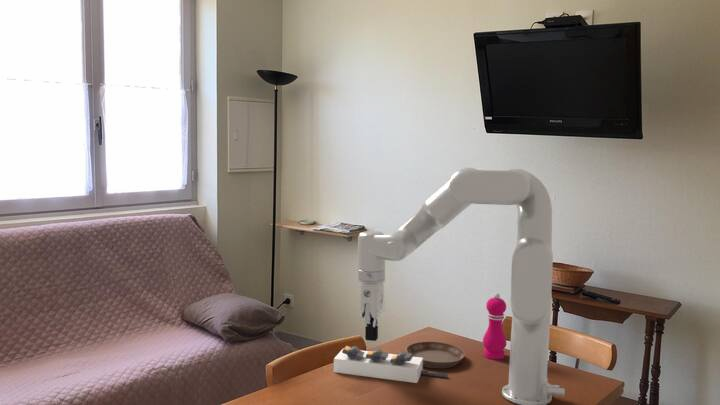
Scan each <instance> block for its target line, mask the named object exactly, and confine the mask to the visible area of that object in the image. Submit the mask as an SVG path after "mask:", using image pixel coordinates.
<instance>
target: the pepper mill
mask: <svg viewBox="0 0 720 405" xmlns="http://www.w3.org/2000/svg"><path fill="white" fill-rule="evenodd" d="M485 307H486V310H487V315H486V316H487V318H488V327H487V329H486V331H485V332H484V335H483V338H482V346H484V349H483V356H484V357H485V358H487V359H490V360H494V361H497V360H503V359H504V358H505V350H504V349H505V348H506V346H507V338H506V335H505V332H504V330H503V320H504V319H505V314H504V313H505V312H506V310H507V303H506V302H505V300H503V299H502V298H501V297H500V294H499V293H498V292H495V293H494V294H493V297H491V298H489V299H488V300H487V302H486V306H485Z"/></svg>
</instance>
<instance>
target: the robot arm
mask: <svg viewBox="0 0 720 405" xmlns="http://www.w3.org/2000/svg"><path fill="white" fill-rule="evenodd" d="M473 204H474V205H475V204H476V205H496V206H516V208H517V220H516V221H517V222H516V223H517V232H516V233H517V235H516V245H515V248H514V251H513V253H512V257H511V258H512V259H511V271H510V272H511V273H510V274H511V275H510V278H511V279H510V301H509V302H510V309H511V315H512V316H511V332H510V347H509V348H510V349H509V350H510V351H509V368H508V384H506V385H504V386H503V387H502V390H501V394H502V396H503V397H504V399H506V400H508V401H509V402H511V403H514V404H515V405H516V404H517V405H548V404H549V403H551V402H552V397H553V395H554V396H558V397H559V396H560V397H565V394H566V393H565V391H566V389H565V388H562V387H560V385H558V384H551V383H549V380H548V379H549V378H548V363H549V362H548V361H549V360H548V358H549V343H550V332H551V330H550V329H551V328H550V327H551V314H552V302H553V301H552V300H553V299H552V298H553V297H552V296H553V295H552V290H553V288H552V285H553V264H554V263H553V262H554V255H553V254H554V252H553V248H552V247H553V246H552V245H553V240H552V238H553V237H552V236H553V211H552V210H553V209H552V201H551V197H550V193H549V191H548V190H547V187H546V186H545V185H544V183H543V182H542V181H541V180H540V179H539V178H538V177H537V176H536V175H533V174H532V173H531V172H529V171H527V170H524V169H521V168H510V169H508V170H490V169H489V170H487V169H482V170H481V169H476V168H473V167H465V168H462V169H458V170H457V171H455V172H454V173H453V174H452V175H451V177H450V179H448V181H447V182H446V183H444V184H443V186H441V187H440V188H439V189H438V190H437V191H435V192H434V193H432V194H431V196H429V197H428V198H427V199H426V200H425V201H424V202H423V203H422V206H421V208H420V209H419V210H418V211H417V213H415V214H414V216H412V217H411V218H410V219H409V220H408V221H406V223H404V225H402V226H401V227H400V228H399V229H397V230H396V231H394V232H392V233H389V234H384V233H383V232H381V231H378V230H367V231H362V232H359V234H358V235H357V236H358V237H357V268H358V269H357V281H358V282H359V283H360V294H359V295H360V297H359V298H360V299H359V302H360V303H359V312H360V317H361V318H362V319H364V325H365V331H364V332H365V335H364V337H365V340H366V341H371V342H376V341H377V340H378V338H379V326H378V324H379V318H380V317H381V315H382V314H383V313H384V312H385V308H386V307H385V306H386V305H385V288H384V287H385V286H384V282H385V281H386V261H391V262H401V261H402V260H404V259H406V258H407V257H408V256H410V255H411V254H412V253H413V252H415V251H416V250H417V249H418V248H419V247H420V246H422V245H423V244H424V243H425V242H426V241H427V240H429V239H430V238H431V237H432V236H433V235H434V234H436V233H437V232H439V230H443V228H445V227H446V226H447V225H448V224H450V223H451V222H452V221H453V220H454V219H455V218H457V217H458V216H459V215H460V214H461V213H463V211H465V210H466V209H467V208H468V207H470V206H471V205H473Z"/></svg>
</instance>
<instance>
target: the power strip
mask: <svg viewBox="0 0 720 405" xmlns="http://www.w3.org/2000/svg"><path fill="white" fill-rule="evenodd" d="M344 348H345V347H344ZM344 348H342V349H341V350H340V351H339V353H338V354H337V355H335V357H334V358H333V373H336V374H345V375H352V376H361V377H367V378H368V377H370V378H376V379H382V380H383V379H384V380H389V381H391V380H392V381H399V382H406V383H414V384H417V383H418V382H419V380H420V377H421V375H422V376H430V377H437V378H438V377H439V378H444V379H445V378H448V377H449V374H448V373H447V372H439V371H431V370H430V371H429V370H423V368H424V366H423V358H421V357H412V359H411V361H407V362H405V363H404V364H403V365H398V364H397V363H393V364H391V361H390V360H391V358H392V357H393V356H396V355H397V354H394V353H388V357H387V359H386V360H379V361H378V362H374V361H372V359H367V358H366V354H367V353H368V352H369V351H370V350H363V349H362V350H361V349H359V350H360V351H362V352H365V353H364V356H363V357H362V358H361V360H359V359H357V358H354V359H350V358H348V356H347V354H344V353H342V351H343V349H344Z"/></svg>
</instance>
